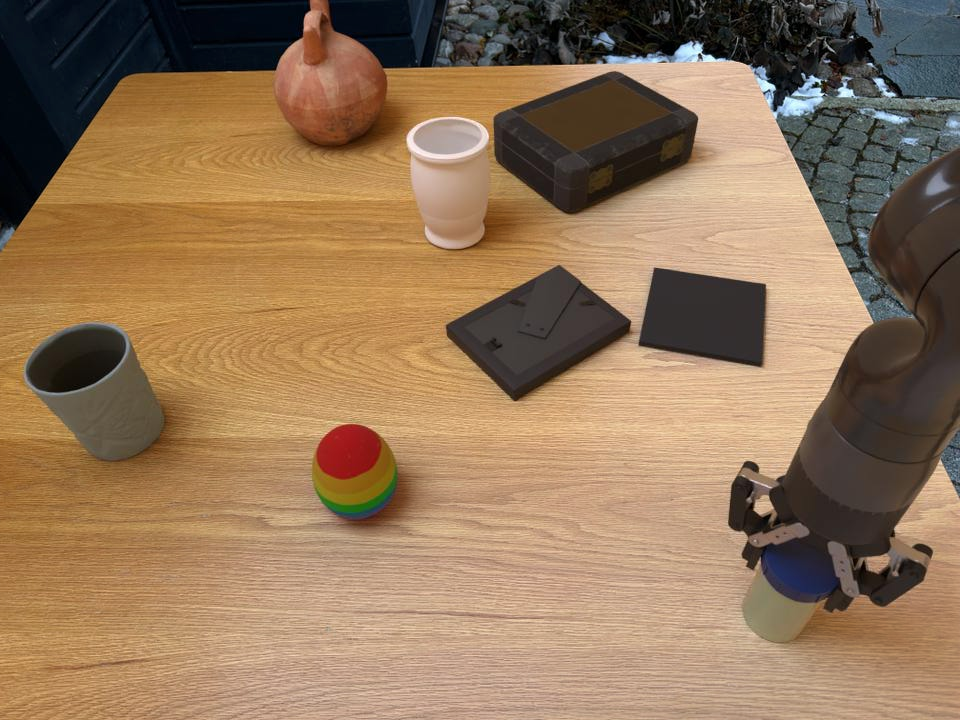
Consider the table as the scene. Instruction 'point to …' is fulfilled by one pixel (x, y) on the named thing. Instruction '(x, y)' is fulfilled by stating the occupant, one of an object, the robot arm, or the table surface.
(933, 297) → the robot arm
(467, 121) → the jar
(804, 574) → the lid
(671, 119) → the cash box
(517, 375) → the picture frame
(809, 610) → the spice jar
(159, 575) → the table surface
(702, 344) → the mat
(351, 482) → the decorative egg
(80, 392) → the grey cup
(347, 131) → the jug
